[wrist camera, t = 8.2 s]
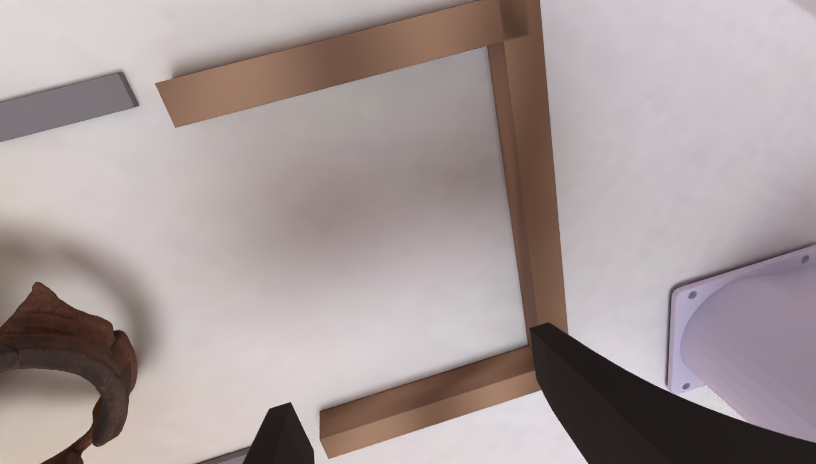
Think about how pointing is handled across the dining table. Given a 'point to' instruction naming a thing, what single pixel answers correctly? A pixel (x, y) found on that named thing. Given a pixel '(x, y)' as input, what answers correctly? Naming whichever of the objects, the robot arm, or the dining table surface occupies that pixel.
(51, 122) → the grey open frame
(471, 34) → the walnut holder
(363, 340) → the dining table surface
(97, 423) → the pottery mug
